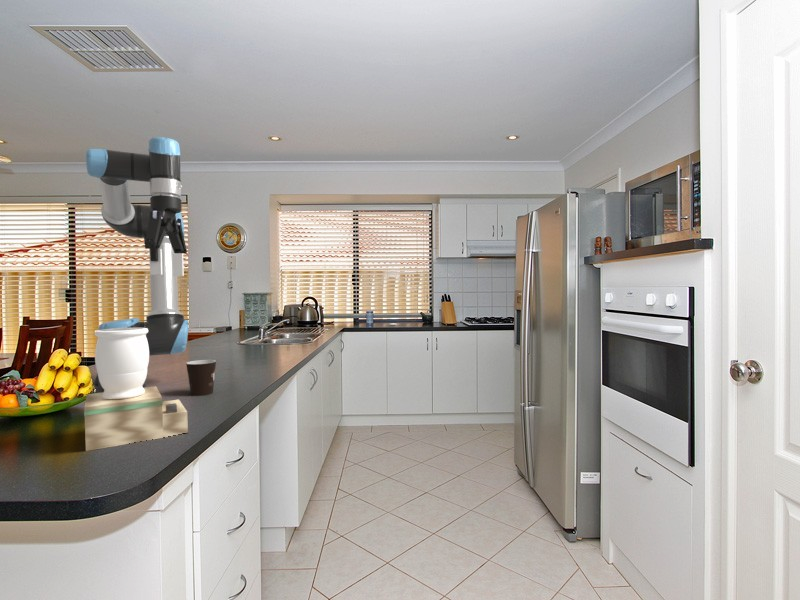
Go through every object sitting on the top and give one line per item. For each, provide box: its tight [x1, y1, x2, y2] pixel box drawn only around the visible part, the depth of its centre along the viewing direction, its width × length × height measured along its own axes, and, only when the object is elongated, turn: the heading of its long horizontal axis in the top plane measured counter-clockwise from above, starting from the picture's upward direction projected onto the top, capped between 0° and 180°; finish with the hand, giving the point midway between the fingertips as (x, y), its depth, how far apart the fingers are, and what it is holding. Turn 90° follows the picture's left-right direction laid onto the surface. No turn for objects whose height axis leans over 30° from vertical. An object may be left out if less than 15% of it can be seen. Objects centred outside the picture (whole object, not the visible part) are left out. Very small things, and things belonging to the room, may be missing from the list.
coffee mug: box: [185, 359, 217, 397], centre depth 143 cm, size 12×9×10 cm
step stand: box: [83, 386, 189, 452], centre depth 102 cm, size 19×14×9 cm
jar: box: [94, 327, 150, 399], centre depth 101 cm, size 11×10×15 cm
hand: (168, 275), depth 122 cm, fingers open, 13 cm apart
